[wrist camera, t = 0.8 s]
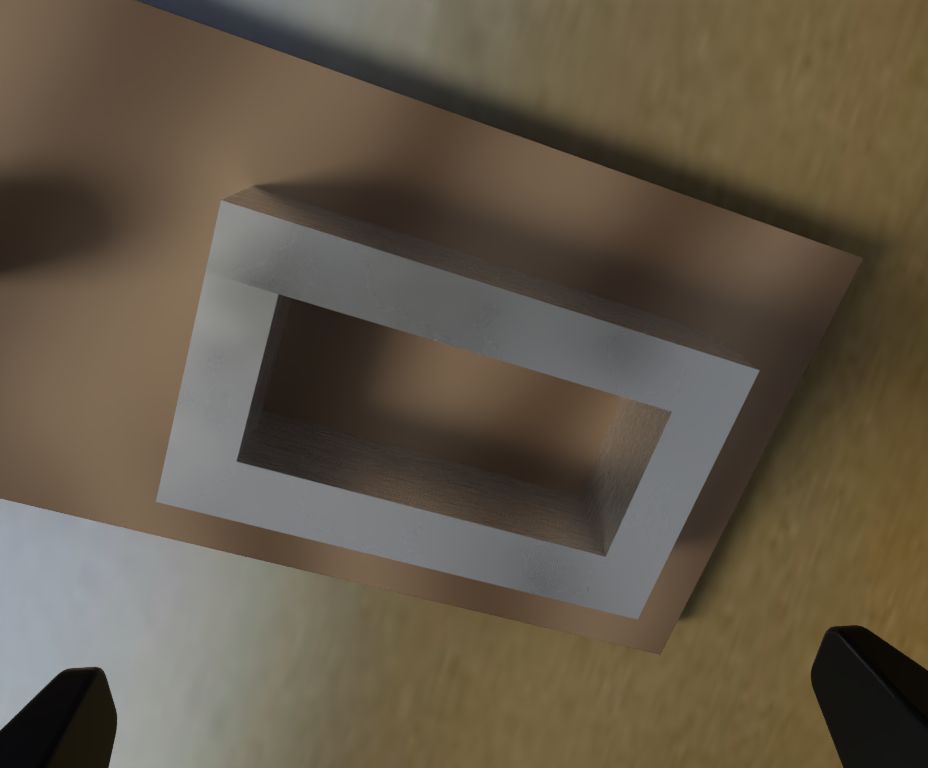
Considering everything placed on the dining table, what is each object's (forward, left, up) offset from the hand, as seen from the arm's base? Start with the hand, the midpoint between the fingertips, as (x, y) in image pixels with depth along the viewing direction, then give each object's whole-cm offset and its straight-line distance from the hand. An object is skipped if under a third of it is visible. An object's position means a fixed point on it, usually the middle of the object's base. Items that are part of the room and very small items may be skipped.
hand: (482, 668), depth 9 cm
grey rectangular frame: (0, 0, -11) cm, 11 cm away
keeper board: (+3, 0, -12) cm, 13 cm away
